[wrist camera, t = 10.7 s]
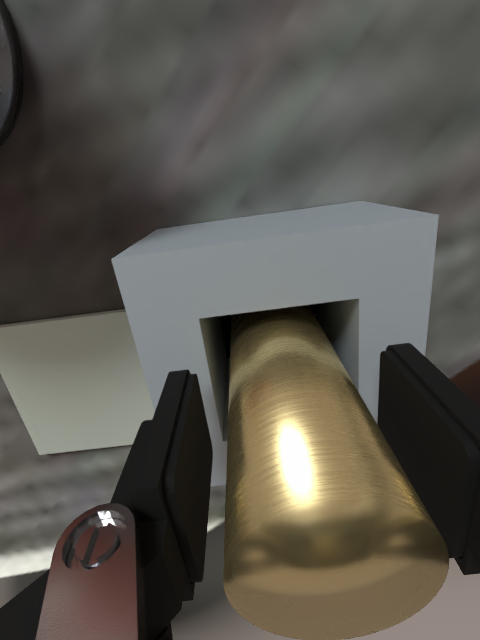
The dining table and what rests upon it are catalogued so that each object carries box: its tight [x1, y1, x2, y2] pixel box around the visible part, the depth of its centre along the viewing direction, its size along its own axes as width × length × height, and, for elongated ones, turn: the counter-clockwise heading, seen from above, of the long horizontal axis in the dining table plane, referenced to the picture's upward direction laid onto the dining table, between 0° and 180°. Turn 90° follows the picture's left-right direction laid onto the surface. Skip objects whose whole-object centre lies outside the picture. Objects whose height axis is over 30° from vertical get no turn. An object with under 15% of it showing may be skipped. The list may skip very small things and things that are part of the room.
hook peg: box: [223, 305, 449, 640], centre depth 11 cm, size 4×4×12 cm
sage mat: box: [0, 309, 155, 455], centre depth 18 cm, size 8×8×1 cm
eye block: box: [111, 201, 439, 486], centre depth 14 cm, size 9×9×6 cm
